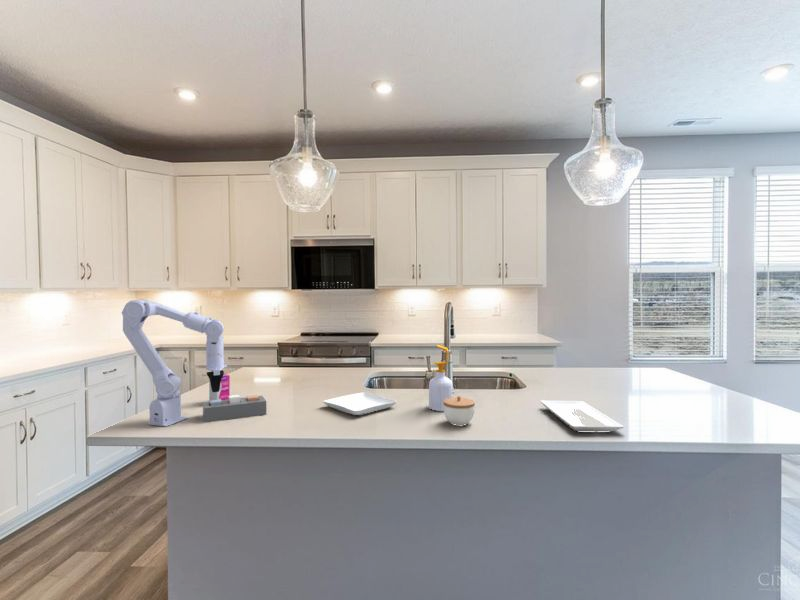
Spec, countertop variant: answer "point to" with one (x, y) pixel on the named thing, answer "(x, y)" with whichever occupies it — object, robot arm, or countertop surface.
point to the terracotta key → (252, 398)
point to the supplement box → (221, 389)
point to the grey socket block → (234, 409)
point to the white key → (234, 399)
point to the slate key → (215, 402)
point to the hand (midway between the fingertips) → (215, 391)
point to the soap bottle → (440, 386)
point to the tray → (565, 414)
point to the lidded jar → (458, 410)
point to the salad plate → (360, 403)
